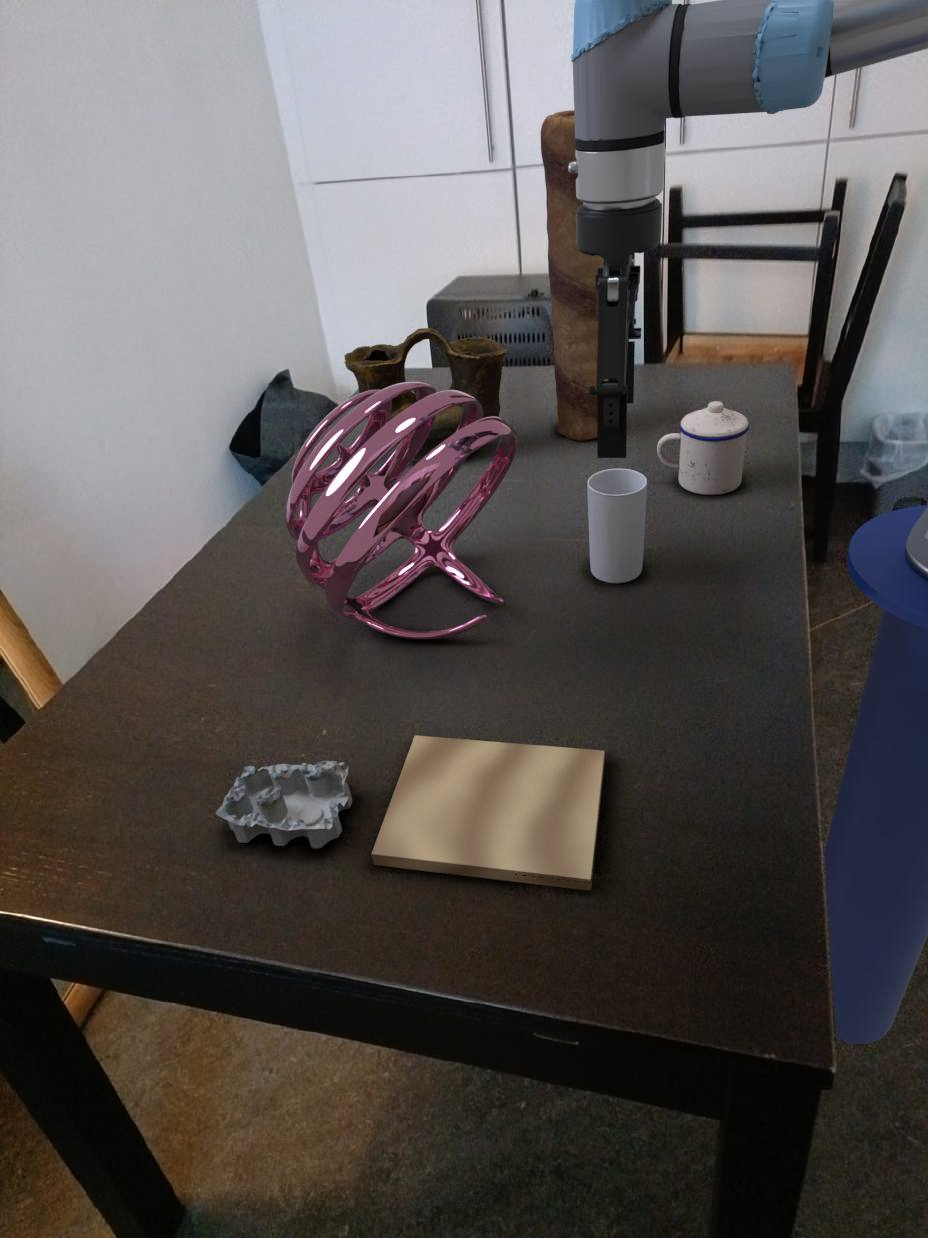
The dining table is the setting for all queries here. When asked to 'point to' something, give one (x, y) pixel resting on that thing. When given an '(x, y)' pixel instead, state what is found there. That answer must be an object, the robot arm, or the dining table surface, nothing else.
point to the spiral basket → (392, 497)
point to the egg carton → (288, 802)
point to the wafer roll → (570, 285)
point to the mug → (616, 524)
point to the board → (495, 812)
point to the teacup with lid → (709, 450)
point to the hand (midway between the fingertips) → (616, 427)
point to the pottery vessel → (470, 371)
